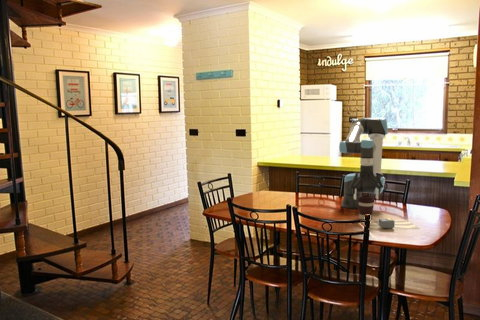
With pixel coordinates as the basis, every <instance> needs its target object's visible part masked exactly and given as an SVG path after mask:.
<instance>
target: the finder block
mask: <svg viewBox="0 0 480 320" xmlns="http://www.w3.org/2000/svg"><path fill="white" fill-rule="evenodd" d="M378 220H379V226H380V227H381V228H383V229H385V228H391V229H390V230H393V229H392V228H394V223H395V221H394V220H395V219H392V218H391V217H388V218H387V217H386V218H379V219H378Z"/></svg>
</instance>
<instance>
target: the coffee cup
mask: <svg viewBox="0 0 480 320" xmlns="http://www.w3.org/2000/svg"><path fill="white" fill-rule="evenodd" d="M358 202H359V204H358V207H359V209H358V215H359V216H358V217H359V220H365V219H364V217H365V214H370V215H371V219H370V220H372V219H373V214H374V213H373V212H374V203H375V198H373V197H372V195H371V196H370V195H361V196H360V198H358Z"/></svg>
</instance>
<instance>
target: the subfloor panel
mask: <svg viewBox="0 0 480 320" xmlns="http://www.w3.org/2000/svg"><path fill="white" fill-rule="evenodd" d="M393 220H394V221H395V223H394V228H392V229H391V228H385V229H383V228H381V227H380V226H379V219H378V220H376V219H375V220H374V219H373V220H370V221H371V223H370V229H369V231H378V230H381V231H382V230H385V231H386V230H389V231H390V230H420V227H418V226H416V225H415V224H414V223H412V222H411V221H409V220H407V219H393ZM360 224H361V225H362V226H363V227H364V226H365V224H364V223H362V222H360Z"/></svg>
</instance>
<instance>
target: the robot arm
mask: <svg viewBox="0 0 480 320" xmlns="http://www.w3.org/2000/svg"><path fill="white" fill-rule="evenodd" d="M387 120H388V119H386V118H385V117H362V118H358V119H356V120H355V121H353V123H352V124H351V125H350V127H349V133H348V135H347V137H346V138H345V140H342V141H340V142H339V146H338V148H339V152H340V153H342V154H343V153H344V154H360V169H359V172H354V173H349V174H346V175H345V176H344V181H343V183H344V184H343V185H344V188H343V189H344V191H343V192H344V194H343V195H344V196H343V198H342V201H341V207H342V208H345V209H351V210H352V209H354V210H357V209H358V210H359V207H358V204H359V202H358V198H360V196H362V193H366V194H374V195H375V199H376V200H379V195H380V194H381V193H383V191H384V188H385V187H384V186H385V183H386V177H384V174H383V172H382V156H383V144H384V141H383V140H384V138H386V135H388V133H389V130H388V129H389V128H388V122H387ZM361 135H367V137H368V138H369V139H361V141H359V140H360V137H361Z"/></svg>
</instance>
